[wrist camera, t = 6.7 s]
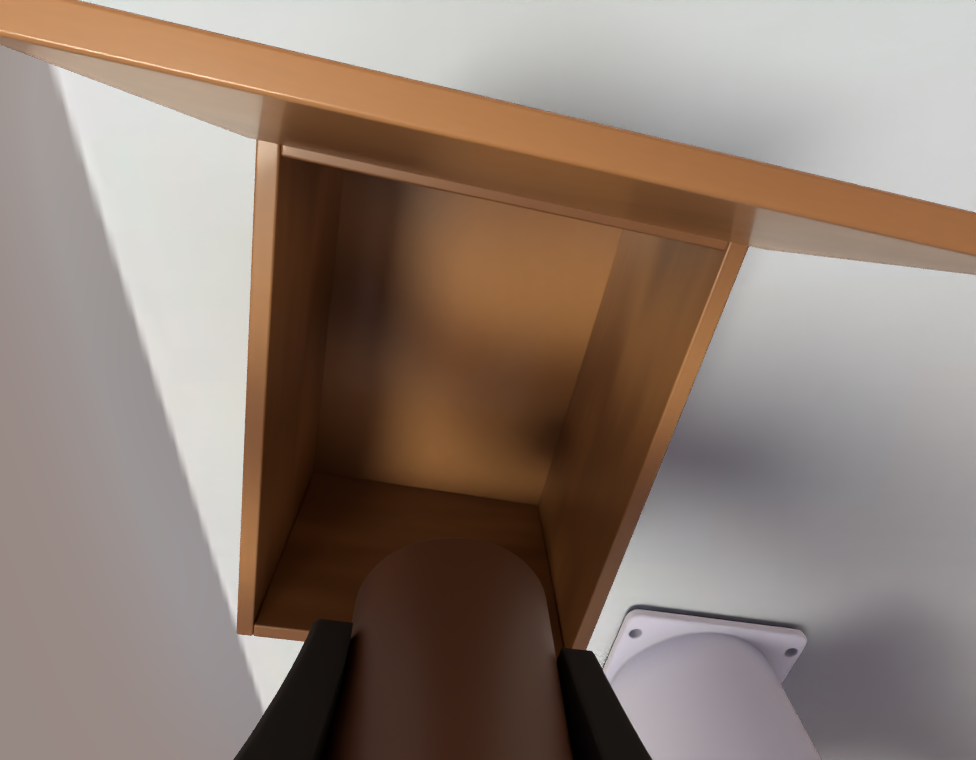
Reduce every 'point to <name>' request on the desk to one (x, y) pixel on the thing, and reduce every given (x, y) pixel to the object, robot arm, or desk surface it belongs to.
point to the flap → (486, 140)
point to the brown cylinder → (450, 661)
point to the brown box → (455, 382)
